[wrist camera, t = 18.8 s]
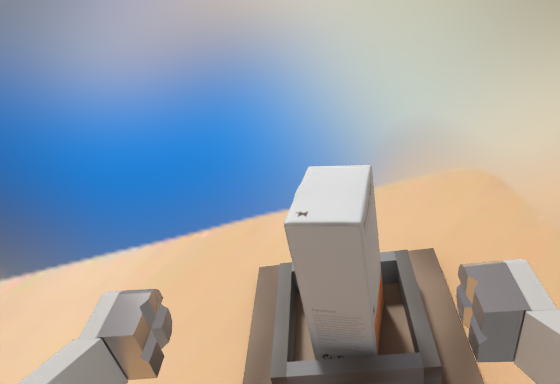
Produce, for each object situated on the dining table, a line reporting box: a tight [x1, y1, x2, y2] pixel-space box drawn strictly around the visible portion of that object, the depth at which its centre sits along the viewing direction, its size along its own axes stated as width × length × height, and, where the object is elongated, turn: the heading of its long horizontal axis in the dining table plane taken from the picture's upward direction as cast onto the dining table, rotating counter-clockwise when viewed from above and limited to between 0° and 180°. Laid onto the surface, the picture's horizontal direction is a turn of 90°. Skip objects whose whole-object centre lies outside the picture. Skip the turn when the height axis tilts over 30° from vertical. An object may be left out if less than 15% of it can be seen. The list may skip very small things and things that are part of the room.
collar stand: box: [243, 248, 484, 384], centre depth 30 cm, size 15×15×4 cm
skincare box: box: [284, 165, 384, 360], centre depth 27 cm, size 6×4×12 cm
